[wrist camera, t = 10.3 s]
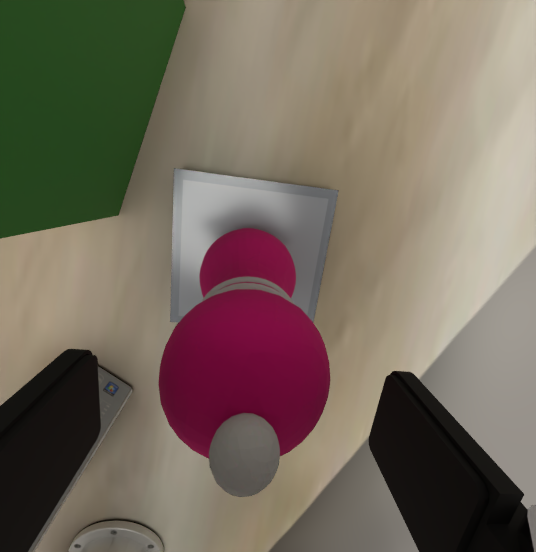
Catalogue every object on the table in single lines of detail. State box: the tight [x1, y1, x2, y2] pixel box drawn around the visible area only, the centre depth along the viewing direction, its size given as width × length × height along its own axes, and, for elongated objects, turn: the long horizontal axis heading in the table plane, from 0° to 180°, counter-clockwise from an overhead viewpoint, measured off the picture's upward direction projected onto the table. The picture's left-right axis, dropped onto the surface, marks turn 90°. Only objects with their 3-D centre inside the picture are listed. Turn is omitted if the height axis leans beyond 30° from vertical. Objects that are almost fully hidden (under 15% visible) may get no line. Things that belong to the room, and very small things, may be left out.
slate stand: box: [170, 168, 339, 322], centre depth 26 cm, size 14×14×3 cm
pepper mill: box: [159, 228, 330, 497], centre depth 16 cm, size 7×7×20 cm
